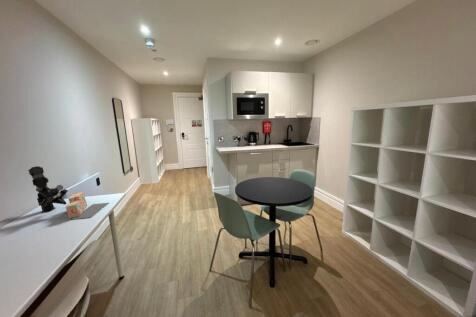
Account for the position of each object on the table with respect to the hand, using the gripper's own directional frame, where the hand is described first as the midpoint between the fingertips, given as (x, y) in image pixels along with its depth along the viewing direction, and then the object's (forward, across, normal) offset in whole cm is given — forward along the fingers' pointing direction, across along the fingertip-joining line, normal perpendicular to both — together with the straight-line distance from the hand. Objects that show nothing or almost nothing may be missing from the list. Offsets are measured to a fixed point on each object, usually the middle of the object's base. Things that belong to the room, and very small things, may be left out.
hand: (65, 203), depth 149 cm
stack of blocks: (+11, 0, 0) cm, 11 cm away
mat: (+17, 0, -7) cm, 19 cm away
